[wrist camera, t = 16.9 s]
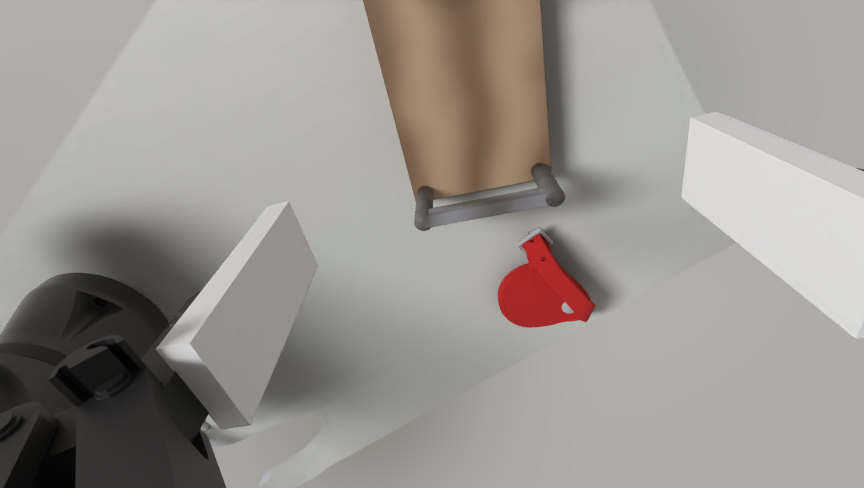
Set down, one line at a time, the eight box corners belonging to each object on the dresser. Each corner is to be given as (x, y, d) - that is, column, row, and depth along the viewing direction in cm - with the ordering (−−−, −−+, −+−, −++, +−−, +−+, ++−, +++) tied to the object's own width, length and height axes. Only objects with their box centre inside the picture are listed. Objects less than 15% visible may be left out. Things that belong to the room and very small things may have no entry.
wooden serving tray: (417, 191, 38) (413, 234, 31) (355, -50, 29) (330, -64, 22) (544, 166, 37) (569, 205, 30) (525, -96, 27) (555, -127, 20)
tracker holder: (483, 307, 46) (565, 325, 47) (487, 334, 42) (576, 352, 43) (520, 214, 40) (613, 236, 41) (529, 236, 36) (631, 259, 37)
